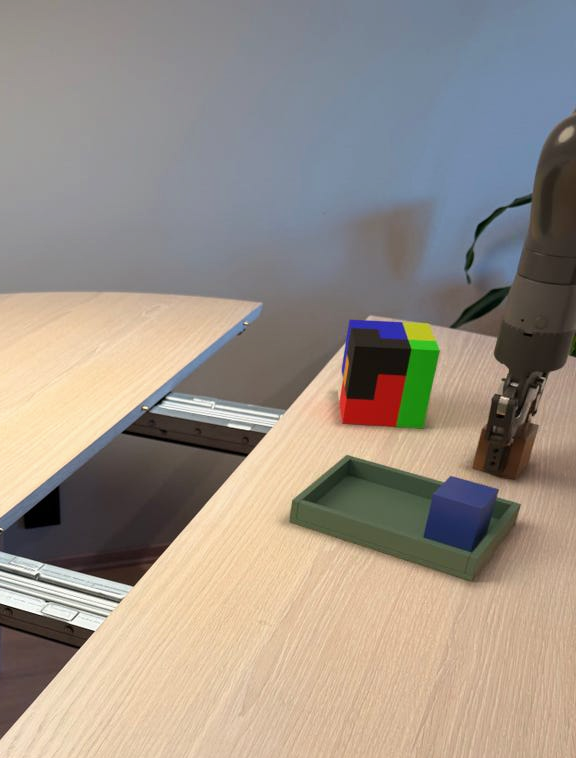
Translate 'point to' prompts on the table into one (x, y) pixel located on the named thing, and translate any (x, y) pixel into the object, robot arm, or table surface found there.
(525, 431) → the brown cube
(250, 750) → the table surface
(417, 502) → the tray
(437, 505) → the blue cube
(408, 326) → the puzzle toy
